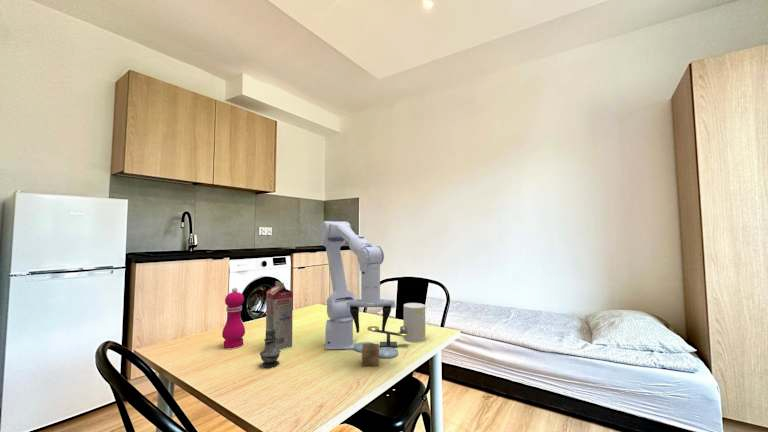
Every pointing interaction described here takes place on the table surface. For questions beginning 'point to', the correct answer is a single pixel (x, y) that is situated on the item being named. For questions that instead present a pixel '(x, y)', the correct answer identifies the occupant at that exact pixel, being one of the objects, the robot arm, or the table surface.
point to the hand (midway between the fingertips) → (370, 331)
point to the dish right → (387, 352)
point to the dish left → (360, 346)
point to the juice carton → (280, 314)
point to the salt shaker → (270, 349)
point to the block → (370, 355)
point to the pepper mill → (233, 320)
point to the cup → (414, 321)
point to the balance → (402, 333)
